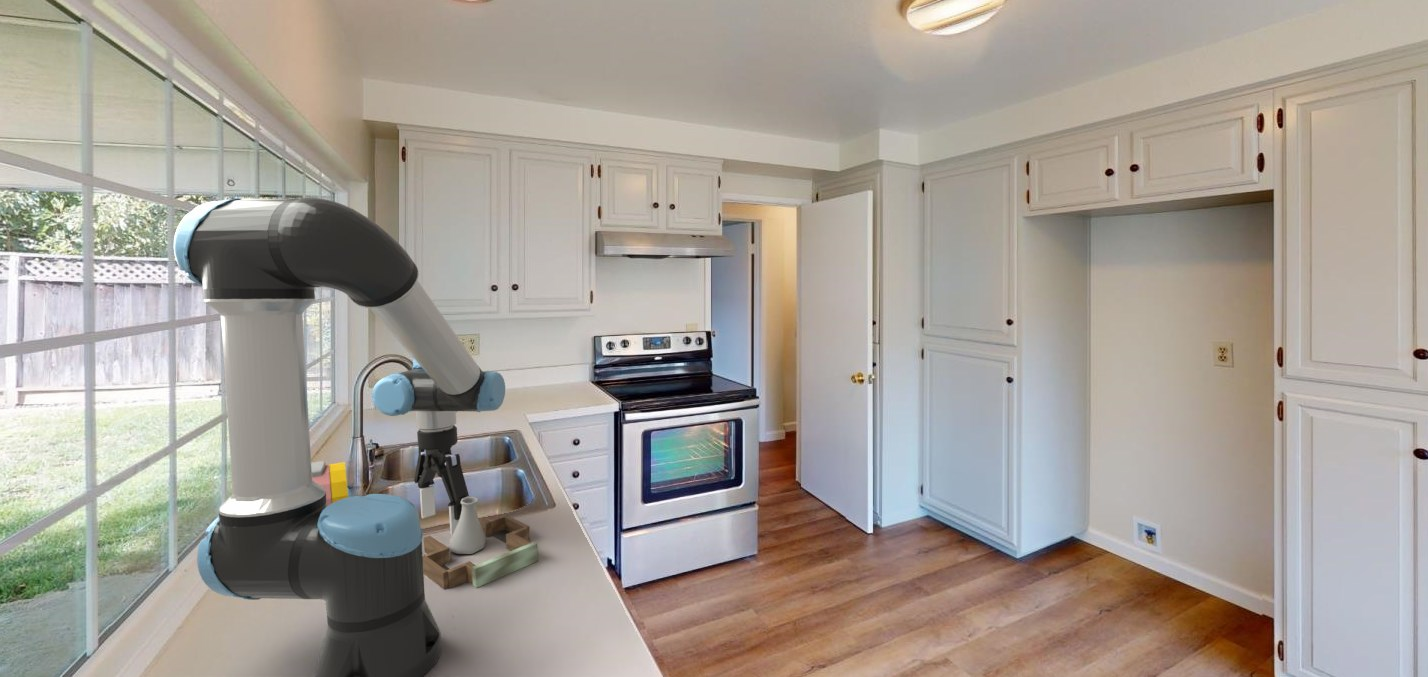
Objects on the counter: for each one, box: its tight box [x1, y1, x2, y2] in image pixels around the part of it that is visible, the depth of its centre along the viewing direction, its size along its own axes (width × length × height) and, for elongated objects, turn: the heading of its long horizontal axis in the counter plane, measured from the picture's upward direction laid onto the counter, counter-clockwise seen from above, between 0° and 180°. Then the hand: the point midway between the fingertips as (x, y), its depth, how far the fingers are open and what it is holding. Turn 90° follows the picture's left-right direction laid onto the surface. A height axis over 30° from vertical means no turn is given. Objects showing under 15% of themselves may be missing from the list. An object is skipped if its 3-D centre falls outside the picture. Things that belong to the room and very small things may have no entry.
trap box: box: [423, 514, 539, 590], centre depth 109 cm, size 20×21×4 cm
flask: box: [447, 496, 487, 555], centre depth 112 cm, size 7×7×10 cm
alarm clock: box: [311, 460, 349, 506], centre depth 111 cm, size 15×8×18 cm, turn 36°
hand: (442, 524), depth 119 cm, fingers open, 13 cm apart
